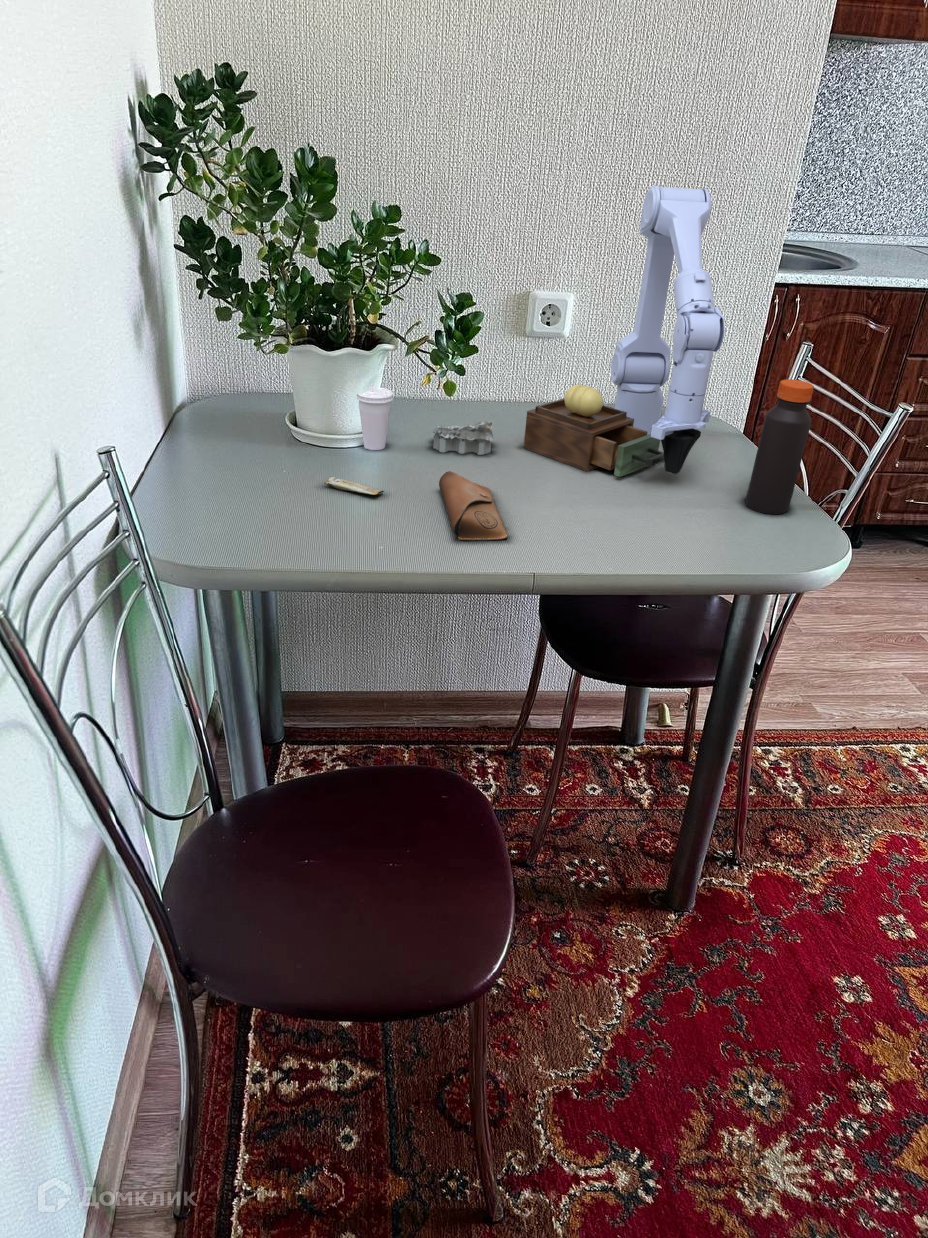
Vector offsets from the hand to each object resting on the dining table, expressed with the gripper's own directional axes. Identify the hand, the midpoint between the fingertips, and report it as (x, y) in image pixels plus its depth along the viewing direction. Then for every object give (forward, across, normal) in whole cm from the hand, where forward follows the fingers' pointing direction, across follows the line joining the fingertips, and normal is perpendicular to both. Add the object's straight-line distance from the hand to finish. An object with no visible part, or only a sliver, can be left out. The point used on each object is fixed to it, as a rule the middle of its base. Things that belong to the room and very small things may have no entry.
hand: (672, 471), depth 149 cm
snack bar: (+2, -43, +31) cm, 53 cm away
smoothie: (+3, -27, +44) cm, 52 cm away
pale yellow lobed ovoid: (-4, 0, +20) cm, 20 cm away
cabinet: (+2, 0, +20) cm, 20 cm away
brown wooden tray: (-4, 0, +20) cm, 20 cm away
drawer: (+2, 0, +11) cm, 11 cm away
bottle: (+3, +5, -15) cm, 16 cm away
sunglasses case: (+3, -35, +13) cm, 37 cm away
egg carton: (+3, -15, +34) cm, 37 cm away
